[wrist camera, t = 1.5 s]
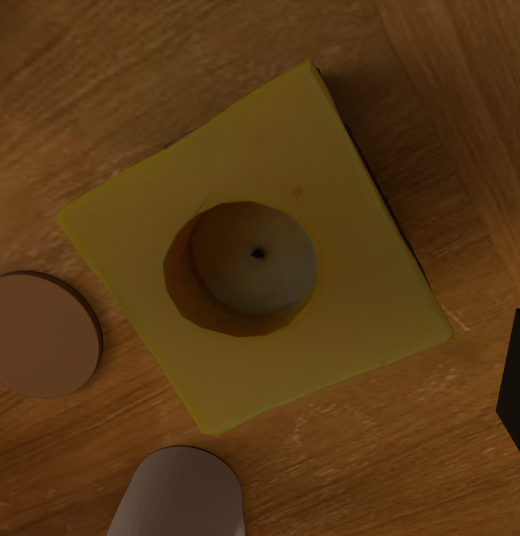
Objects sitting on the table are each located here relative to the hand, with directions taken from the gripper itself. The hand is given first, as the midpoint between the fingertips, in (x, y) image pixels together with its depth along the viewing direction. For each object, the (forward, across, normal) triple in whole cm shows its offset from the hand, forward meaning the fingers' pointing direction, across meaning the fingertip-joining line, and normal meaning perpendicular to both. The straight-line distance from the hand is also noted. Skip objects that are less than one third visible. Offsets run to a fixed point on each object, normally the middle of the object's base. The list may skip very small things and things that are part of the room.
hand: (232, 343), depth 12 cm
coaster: (+14, -14, -8) cm, 21 cm away
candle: (+14, 0, 0) cm, 14 cm away
